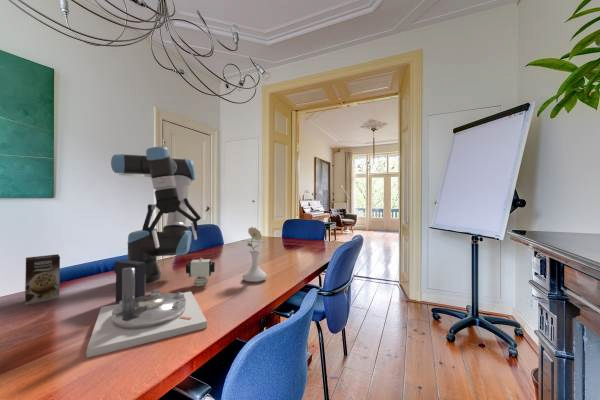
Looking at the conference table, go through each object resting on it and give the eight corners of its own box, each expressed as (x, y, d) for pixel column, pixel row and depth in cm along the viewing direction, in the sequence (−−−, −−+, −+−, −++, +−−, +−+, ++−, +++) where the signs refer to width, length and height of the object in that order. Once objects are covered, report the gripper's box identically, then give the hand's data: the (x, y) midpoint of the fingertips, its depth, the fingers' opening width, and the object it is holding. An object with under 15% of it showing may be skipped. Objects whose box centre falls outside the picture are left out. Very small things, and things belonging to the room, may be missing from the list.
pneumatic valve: (213, 286, 112) (214, 259, 112) (185, 287, 110) (185, 260, 110) (215, 282, 118) (215, 256, 118) (188, 283, 115) (188, 257, 115)
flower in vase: (271, 281, 120) (271, 227, 119) (248, 285, 113) (248, 229, 113) (259, 274, 130) (259, 225, 130) (237, 278, 124) (237, 226, 124)
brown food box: (25, 305, 91) (25, 260, 91) (24, 300, 95) (24, 257, 95) (60, 298, 97) (60, 256, 97) (58, 293, 102) (58, 253, 102)
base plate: (101, 312, 86) (101, 306, 86) (191, 296, 101) (191, 290, 101) (86, 357, 62) (86, 348, 62) (206, 327, 77) (206, 320, 77)
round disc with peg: (115, 307, 84) (115, 257, 84) (181, 295, 95) (181, 251, 95) (108, 336, 67) (108, 273, 67) (190, 318, 78) (190, 264, 78)
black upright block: (146, 302, 95) (147, 261, 95) (136, 306, 91) (136, 264, 91) (125, 298, 98) (125, 259, 98) (113, 302, 94) (114, 261, 94)
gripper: (124, 194, 89) (137, 253, 91) (199, 182, 96) (210, 237, 98) (131, 194, 97) (143, 248, 98) (200, 183, 104) (211, 234, 105)
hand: (177, 243), depth 98 cm, fingers open, 13 cm apart
